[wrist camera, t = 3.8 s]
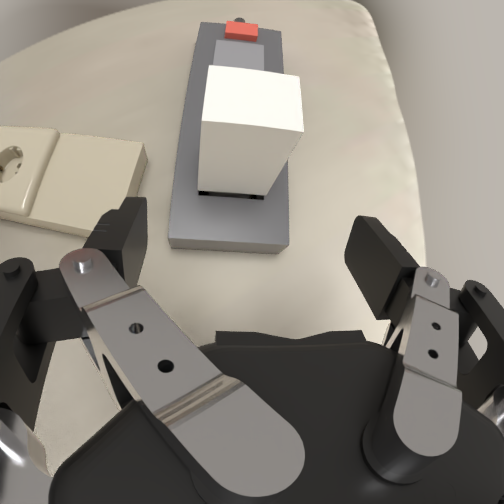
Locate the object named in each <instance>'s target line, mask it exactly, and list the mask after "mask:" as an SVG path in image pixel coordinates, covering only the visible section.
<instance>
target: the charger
mask: <svg viewBox="0 0 504 504" xmlns="http://www.w3.org/2000/svg"><path fill="white" fill-rule="evenodd" d="M303 133H304V128H303V114H302V102H301V90H300V80H299V77H298V76H292V75H286V74H280V73H274V72H267V71H260V70H253V69H245V68H236V67H226V66H214V65H209V68H208V75H207V82H206V90H205V97H204V105H203V113H202V121H201V135H200V151H199V169H198V190H199V191H208V196H217V197H231V198H244V199H249V198H250V195H251V194H254V195H265V196H266V195H267V193H268V192H269V190H270V188H271V187H272V185H273V183H274V181H275V180H276V178H277V176H278V175H279V173H280V171H281V170H282V168H283V166H284V165H285V163H286V161H287V160H288V158H289V156H290V154H291V153H292V151H293V149H294V148H295V146H296V144H297V143H298V141H299V139H300V138H301V136H302V134H303Z"/></svg>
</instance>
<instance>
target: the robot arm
mask: <svg viewBox="0 0 504 504" xmlns="http://www.w3.org/2000/svg"><path fill="white" fill-rule="evenodd" d="M147 240H148V234H147V200H146V197H125V199H124V200H123V202H122V204H121V206H120V207H119V209H111V210H109V211H108V212H106V213H105V214H103V215H102V216H101V218H100V219H99V221H98V222H97V225H96V226H95V227H94V229H93V231H92V232H91V234H90V236H89V237H88V239H87V241H86V242H85V244H84V246H83V248H82V249H77V250H74V251H72V252H70V253H68V254H67V255H65V256H64V257H63V258H62V259H61V261H60V264H59V268H56V269H51V270H44V271H37V272H35V269H34V265H33V263H32V261H30V260H29V259H27V258H22V257H19V258H13V259H9V260H7V261H5V262H3V263H1V264H0V504H504V309H503V307H502V306H501V305H500V304H499V302H498V301H497V300H496V298H495V297H494V296H493V295H492V293H491V292H490V291H489V290H488V289H487V288H486V287H485V286H484V285H482V284H481V283H479V282H476V281H473V280H467V281H466V282H465V284H464V286H463V288H462V290H461V291H460V290H456V289H453V288H450V286H449V282H448V281H447V279H446V278H445V277H444V276H443V275H442V274H440V273H439V272H437V271H436V270H434V269H431V268H428V267H420V266H419V265H418V264H417V262H416V261H415V260H414V259H413V257H412V256H411V255H410V254H409V253H408V252H406V251H407V250H406V249H405V248H404V247H403V246H401V245H402V244H401V243H400V242H399V241H398V240H397V239H396V237H394V236H393V235H392V234H390V233H389V232H388V230H387V229H386V228H385V227H384V226H383V225H382V224H381V222H380V221H379V220H378V219H377V218H375V217H368V216H357V217H356V219H355V221H354V224H353V227H352V230H351V233H350V236H349V239H348V242H347V245H346V249H345V254H344V258H345V263H346V265H347V267H348V269H349V271H350V272H351V274H352V276H353V278H354V279H355V281H356V283H357V285H358V287H359V288H360V290H361V292H362V294H363V296H364V297H365V299H366V301H367V303H368V305H369V307H370V309H371V310H372V312H373V314H374V316H375V318H376V320H387V319H390V320H391V321H390V323H389V325H388V327H387V329H386V332H385V335H384V338H383V341H382V344H381V345H380V344H377V343H374V342H370V341H366V339H365V337H364V335H363V332H362V330H355V331H330V332H326V333H322V334H318V335H314V336H310V337H306V338H302V339H289V338H283V337H278V336H273V335H268V334H263V333H258V332H230V331H216V335H215V343H211V344H207V345H203V346H200V347H196V346H195V345H194V344H193V343H192V342H191V341H190V340H189V338H188V337H187V336H186V335H185V334H184V333H183V332H182V331H181V330H180V329H179V328H178V327H177V325H176V324H175V323H174V322H173V321H172V320H171V319H170V318H169V317H168V315H167V314H166V313H165V312H164V311H163V310H162V309H161V308H160V306H159V305H158V304H157V303H156V302H155V301H154V300H153V298H152V297H151V296H150V295H149V294H148V293H147V291H146V290H145V289H144V288H143V287H142V286H140V285H138V286H137V283H138V279H139V275H140V272H141V268H142V265H143V261H144V258H145V254H146V250H147ZM477 326H478V327H479V328H480V330H481V331H482V333H483V334H484V336H485V337H486V339H487V343H488V345H487V350H486V352H485V354H484V355H483V356H482V358H481V359H480V360H478V358H477V356H476V355H475V353H474V351H473V350H472V348H471V346H470V345H469V343H468V340H469V338H470V337H471V335H472V334H473V332H474V331H475V330H476V328H477ZM74 338H80V341H81V343H82V344H83V346H84V348H85V350H86V352H87V354H88V356H89V357H90V359H91V361H92V363H93V365H94V366H95V368H96V370H97V372H98V373H99V375H100V377H101V378H102V380H103V382H104V384H105V386H106V388H107V390H108V392H109V394H110V396H111V398H112V400H113V401H114V403H115V405H116V407H117V408H118V410H119V411H120V412H118V413H117V414H116V415H115V416H114V417H113V418H112V419H111V420H110V421H109V422H108V423H106V424H105V425H104V426H103V427H102V428H101V429H100V430H99V431H98V432H97V433H95V434H94V435H93V436H92V437H91V438H90V439H89V440H88V441H87V442H85V443H84V444H83V445H82V446H81V447H80V448H79V449H78V450H77V451H75V452H74V453H73V454H72V455H71V456H70V457H69V458H68V459H66V460H65V461H64V462H63V463H62V464H61V466H60V467H59V468H58V470H57V471H56V473H55V475H54V477H51V476H50V474H49V472H48V469H47V464H46V452H45V448H44V446H43V444H42V442H41V441H40V439H39V438H38V437H37V436H36V435H35V434H34V433H33V432H34V427H35V421H36V417H37V412H38V407H39V403H40V398H41V394H42V390H43V386H44V382H45V378H46V374H47V371H48V367H49V363H50V360H51V356H52V353H53V350H54V346H55V343H56V341H61V340H67V339H74Z"/></svg>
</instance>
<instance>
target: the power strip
mask: <svg viewBox="0 0 504 504" xmlns="http://www.w3.org/2000/svg"><path fill="white" fill-rule="evenodd" d="M209 65H214V66H226V67H236V68H245V69H253V70H260V71H267V72H274V73H280V74H284V70H283V53H282V38H281V31H275V30H269V29H263V28H258V25H257V24H250V23H245V20H244V19H242V18H236V19H235V20H234V22H233V21H227V23H226V24H221V23H208V22H201V24H200V28H199V32H198V37H197V42H196V46H195V51H194V56H193V61H192V66H191V71H190V76H189V82H188V87H187V93H186V98H185V104H184V110H183V117H182V123H181V130H180V136H179V143H178V150H177V158H176V166H175V174H174V182H173V191H172V200H171V210H170V220H169V232H168V240H169V243H170V246H171V248H179V249H197V250H215V251H233V252H252V253H270V254H279V253H280V252H281V251H282V250H284V249H285V248H286V247H287V246H289V197H288V160H287V161H286V163H285V165H284V166H283V168H282V170H281V171H280V173H279V175H278V176H277V178H276V180H275V181H274V183H273V185H272V187H271V188H270V190H269V192H268V193H267V195H266V196H265V195H256V199H244V198H231V197H217V196H202V195H198V194H199V190H198V169H199V151H200V135H201V121H202V113H203V105H204V97H205V90H206V82H207V75H208V68H209Z"/></svg>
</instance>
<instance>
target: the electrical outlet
mask: <svg viewBox="0 0 504 504" xmlns="http://www.w3.org/2000/svg"><path fill="white" fill-rule="evenodd" d="M147 161H148V159H147V155H146V151H145V147H144V143H141V142H134V141H127V140H120V139H112V138H104V137H96V136H87V135H77V134H67V133H59V132H58V130H56V129H53V128H38V127H20V126H0V218H1V219H5V220H10V221H14V222H19V223H23V224H28V225H32V226H37V227H41V228H46V229H50V230H55V231H60V232H64V233H69V234H74V235H78V236H83V237H89V236H90V234H91V232H92V231H93V229H94V227H95V226H96V225H97V222H98V221H99V219H100V218H101V216H102V215H103V214H105V213H106V212H108V211H109V210H111V209H119V207H120V206H121V204H122V202H123V200H124V199H125V197H136V196H137V193H138V189H139V186H140V183H141V180H142V176H143V173H144V170H145V167H146V164H147Z"/></svg>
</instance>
